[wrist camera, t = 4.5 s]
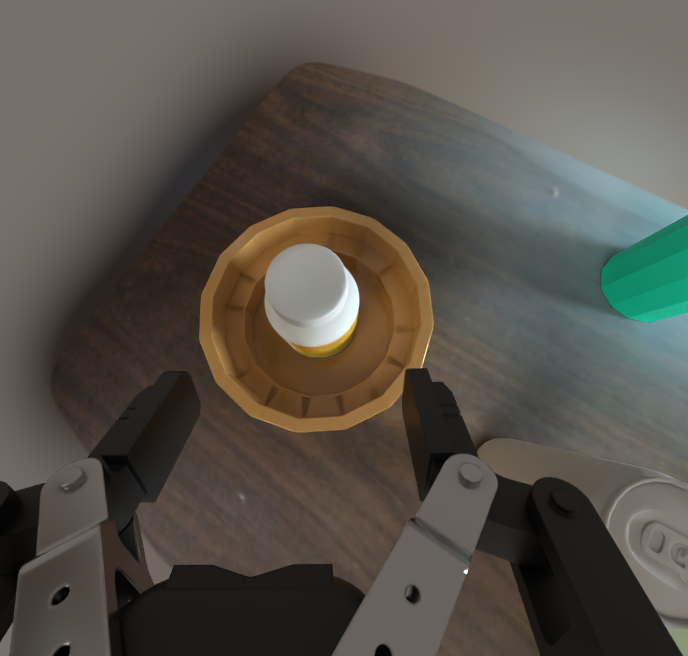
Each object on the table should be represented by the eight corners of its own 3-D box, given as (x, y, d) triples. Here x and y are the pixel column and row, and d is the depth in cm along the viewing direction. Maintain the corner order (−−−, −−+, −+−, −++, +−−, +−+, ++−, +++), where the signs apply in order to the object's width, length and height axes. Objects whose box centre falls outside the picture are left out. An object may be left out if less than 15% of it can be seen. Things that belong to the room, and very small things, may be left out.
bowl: (273, 460, 23) (251, 477, 18) (202, 287, 26) (168, 261, 21) (450, 370, 24) (476, 363, 19) (363, 215, 27) (366, 174, 22)
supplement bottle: (272, 332, 24) (224, 289, 15) (316, 280, 25) (296, 209, 16) (327, 375, 23) (313, 359, 14) (370, 320, 24) (383, 270, 15)
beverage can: (522, 523, 21) (730, 671, 10) (457, 486, 22) (579, 582, 10) (548, 457, 22) (766, 519, 11) (484, 423, 23) (626, 446, 11)
